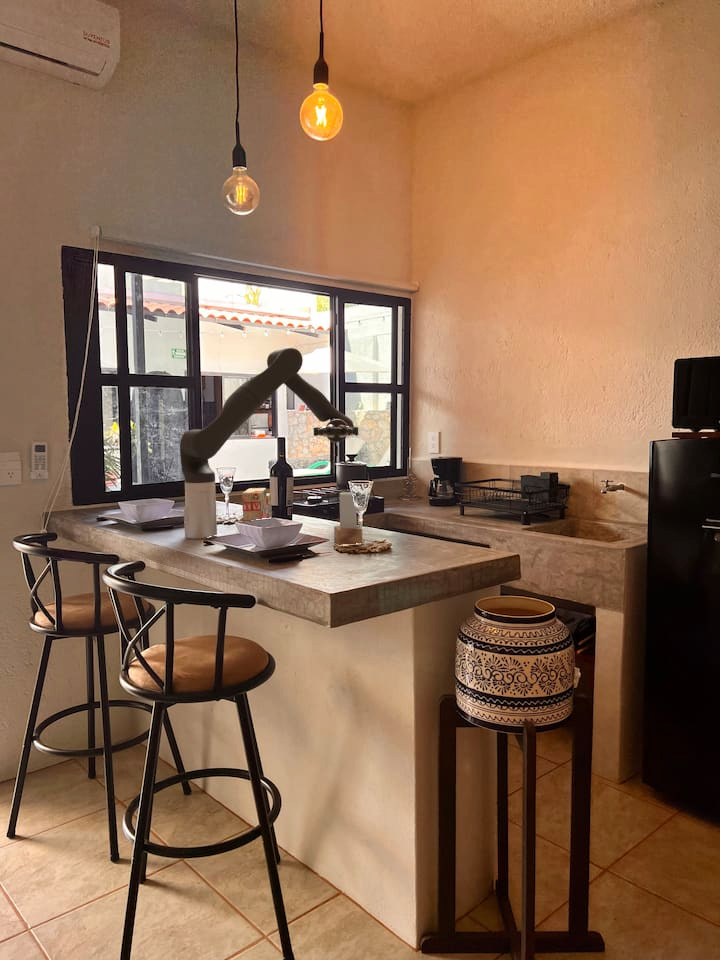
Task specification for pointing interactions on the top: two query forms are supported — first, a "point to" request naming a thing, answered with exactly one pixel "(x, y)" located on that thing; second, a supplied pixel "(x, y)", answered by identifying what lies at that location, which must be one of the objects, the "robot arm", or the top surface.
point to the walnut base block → (347, 535)
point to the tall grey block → (347, 511)
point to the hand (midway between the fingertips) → (335, 432)
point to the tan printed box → (256, 504)
